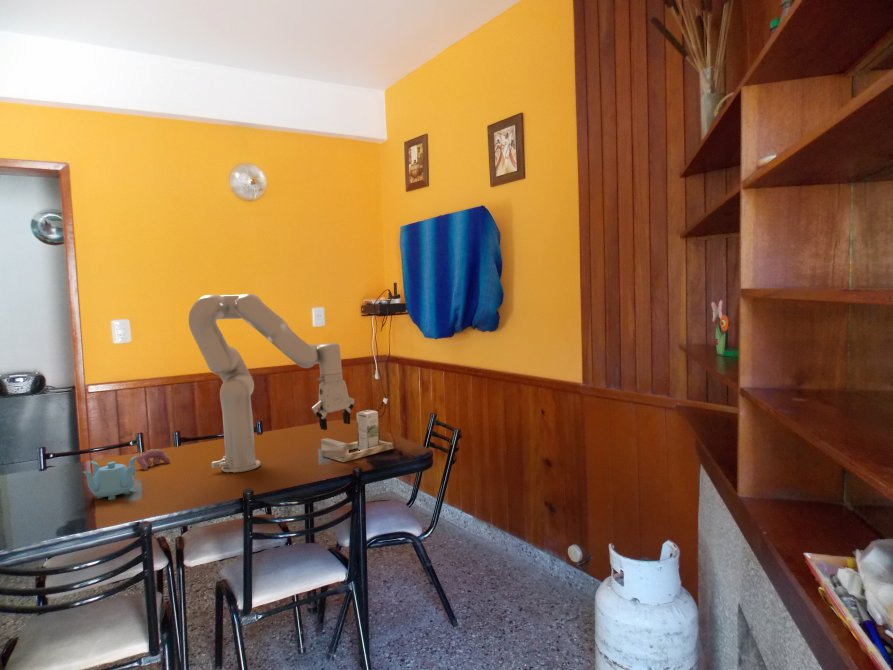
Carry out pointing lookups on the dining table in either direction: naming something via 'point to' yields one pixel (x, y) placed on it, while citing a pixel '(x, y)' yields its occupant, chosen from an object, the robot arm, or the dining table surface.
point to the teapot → (111, 479)
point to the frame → (341, 449)
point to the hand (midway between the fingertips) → (335, 426)
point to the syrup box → (367, 429)
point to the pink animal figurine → (153, 453)
